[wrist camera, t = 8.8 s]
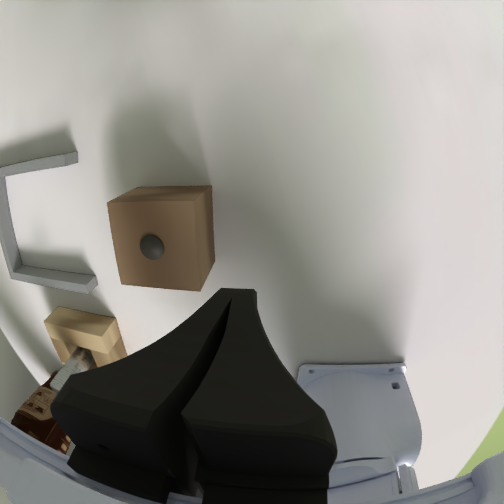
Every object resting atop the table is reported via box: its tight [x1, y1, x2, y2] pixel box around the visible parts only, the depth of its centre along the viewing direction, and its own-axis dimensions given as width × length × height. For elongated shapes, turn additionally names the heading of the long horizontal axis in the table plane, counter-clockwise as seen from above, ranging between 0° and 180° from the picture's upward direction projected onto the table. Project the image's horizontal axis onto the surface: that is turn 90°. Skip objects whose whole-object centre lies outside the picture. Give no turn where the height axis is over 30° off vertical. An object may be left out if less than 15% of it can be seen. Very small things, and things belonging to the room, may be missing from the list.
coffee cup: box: [11, 371, 71, 455], centre depth 23 cm, size 9×8×13 cm
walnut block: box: [107, 186, 215, 291], centre depth 17 cm, size 5×5×4 cm
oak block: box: [44, 307, 127, 370], centre depth 23 cm, size 7×7×3 cm
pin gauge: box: [50, 346, 94, 394], centre depth 21 cm, size 2×2×7 cm
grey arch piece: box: [0, 152, 98, 294], centre depth 19 cm, size 11×11×2 cm
